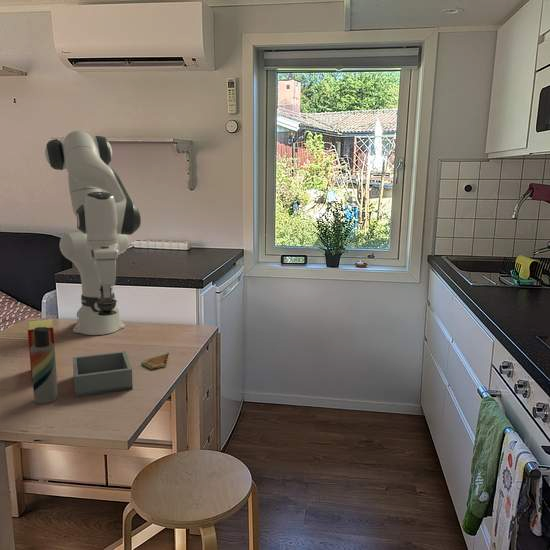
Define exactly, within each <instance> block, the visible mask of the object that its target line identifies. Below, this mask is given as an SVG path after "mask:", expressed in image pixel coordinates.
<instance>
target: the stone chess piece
mask: <svg viewBox="0 0 550 550" xmlns="http://www.w3.org/2000/svg"><path fill="white" fill-rule="evenodd" d="M100 285H101V283H100ZM99 290H100V291H101V298H100V300H99V301H97V302H96V303H97V305H98V308H99V309H100V310H103V311H100V312H99V313H98V315H101V316H109V315H114V314H116V313H117V312H116V311H114V310H112V309H114V308H115V306H116V305H117V302H118V300H117V299H115V300H114V299H113V298H112V292H111V290H112V288H111V287H110V297H109V298H104V296H103V287H102V286H101V288H100V289H99Z"/></svg>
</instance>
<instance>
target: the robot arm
mask: <svg viewBox="0 0 550 550" xmlns="http://www.w3.org/2000/svg"><path fill="white" fill-rule="evenodd" d="M45 145H46V146H45V149H44V150H45V151H44V156H45V159H46V162H47V163H48V164H49V165H50V168H52V169H54V170H58V171H63V170H67V173H68V174H67V175H68V176H67V178H68V181H67V182H68V190H69V196H70V201H71V207H72V211H73V213H74V216H76V228H77V229H75V230H72V231H68V232H65V233H63V234H62V236H60V240H59V250H60V252H61V255H62V256H63V257H64V258H65V259H67V260H68V261H70V262H71V263H73V264H74V266H75V267H76V269H77V270H78V273H79V276H80V282H81V292H82V293H81V295H80V297H81V298H80V301H81V306H80V308H79V309H78V311H76V317H77V322H76V324H75V325H74V327H73V329H72V330H73V331H72V332H73V333H76V334H77V333H78V334H83V335H87V336H88V335H89V336H100V335H107V334H112V333H115V332H117V331H118V330H121V329H124V328H126V325H125V323H124V322H123V321H122V320H121V315H120V307H119V306H118V305H117V304H116V306H115V308H114V309H112V310H114V311H116V312H117V313H116V314H114V315H109V316H101V315H98V313H99V312H100V311H103V310H100V309H99V308H98V305H97V303H96V302H97V301H99V300H100V298H101V291H100V290H99V289H100V288H101V286H102V287H103V296H104V298H109V297H110V287H111V288H112V290H111V292H112V298H113V299H114V300H116V299H115V298H116V295H115V293H114V286H115V285H116V280H117V279H116V277H117V259H118V258H119V255H121V254H123V253H125V252H127V249H128V247H129V243H130V242H129V241H130V240H129V236H130V235H133V234H134V233H136V231H137V230H139V228H140V227H141V214H140V209H139V208H138V206H137V205H136V204H135V203H134V201H133V200H132V199H131V196H130V194H129V193H128V191H127V189H126V187H125V185H124V183H123V182H122V180H121V178H120V176H119V174H118V173H117V171H116V170H115V169H114V168H113V167H111V166H109V164H110V162H111V161H112V159H113V158H112V157H113V149H112V145H111V143H110V141H109V139H108V138H106V137H105V136H102V135H96V136H91V135H90V134H89V133H87V132H86V131H83V130H73V131H71V132H69V133H68V134H67V135H66V136H65V137H64V138H59V139H58V138H55V139H52V140H49V141H48V142H47V143H46V144H45ZM102 190H103V191H102ZM105 191H106V192H105ZM100 283H101V285H100Z"/></svg>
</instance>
